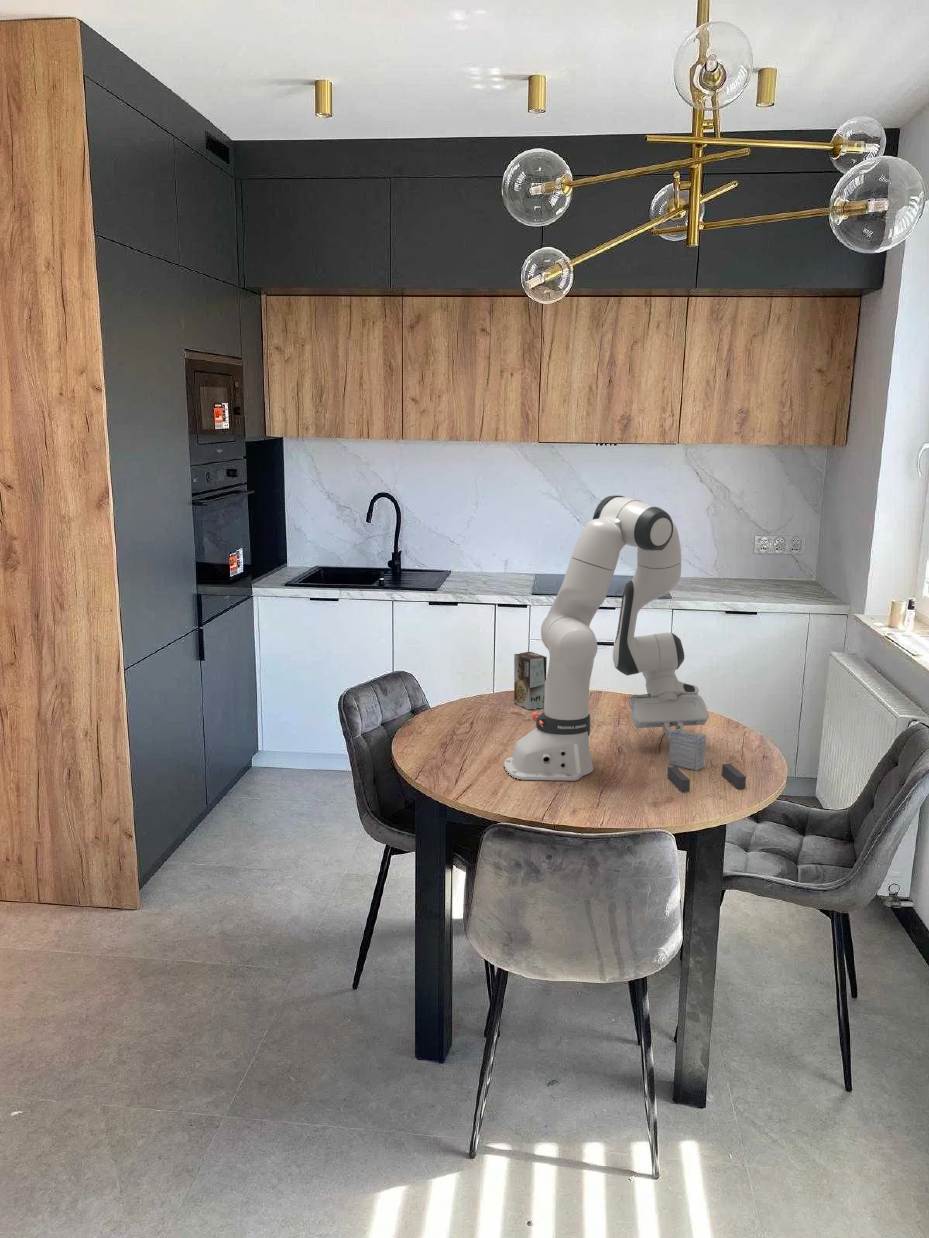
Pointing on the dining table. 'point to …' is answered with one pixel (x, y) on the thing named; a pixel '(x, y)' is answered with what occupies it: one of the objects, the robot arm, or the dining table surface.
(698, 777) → the dining table surface
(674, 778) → the grey blocks
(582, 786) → the dining table surface
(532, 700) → the coffee box
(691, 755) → the medicine box
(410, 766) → the dining table surface
